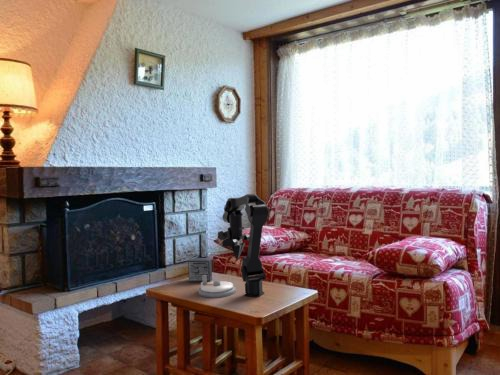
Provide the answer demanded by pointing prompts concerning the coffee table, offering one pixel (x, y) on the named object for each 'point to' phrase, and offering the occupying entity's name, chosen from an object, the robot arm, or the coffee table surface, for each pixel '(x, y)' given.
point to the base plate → (215, 295)
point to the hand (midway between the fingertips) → (237, 258)
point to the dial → (215, 286)
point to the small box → (199, 269)
